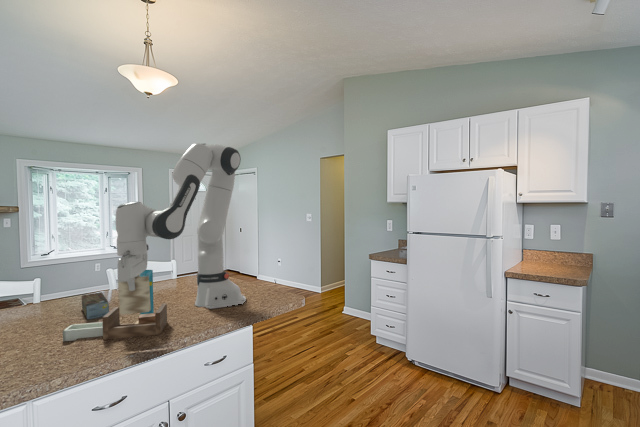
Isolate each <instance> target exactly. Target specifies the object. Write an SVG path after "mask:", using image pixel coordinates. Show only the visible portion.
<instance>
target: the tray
mask: <svg viewBox="0 0 640 427" xmlns="http://www.w3.org/2000/svg"><path fill="white" fill-rule="evenodd" d="M95 337H103V321H99V322H88V323H75V324H71V325H69V326H67V327H66V328H64V330H62V342H70V341H76V340H77V339H85V338H86V339H87V338H95Z"/></svg>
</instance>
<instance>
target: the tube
mask: <svg viewBox="0 0 640 427" xmlns="http://www.w3.org/2000/svg"><path fill="white" fill-rule="evenodd" d="M153 273H154V272H153V269H146V270H145V271H144V272H142V273H141V274H140V277H143V276H149V286H150V304H151V310H150V311H149V312H143V313H139V316H140V315H141V314H150V313H155V311H154V306H155V305H154V274H153Z"/></svg>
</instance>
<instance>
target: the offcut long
mask: <svg viewBox="0 0 640 427" xmlns="http://www.w3.org/2000/svg"><path fill="white" fill-rule="evenodd" d="M134 323H135V324H134V325H143V324H155V323H156V322H151V323H142V324H139V320H136V321H135V322H134Z"/></svg>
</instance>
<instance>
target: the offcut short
mask: <svg viewBox="0 0 640 427" xmlns="http://www.w3.org/2000/svg"><path fill="white" fill-rule="evenodd" d="M155 313H156V312H154V313H150V314H141V315H140V314H139V316H138V320H139V324H142V323H151V322H156V320H155Z"/></svg>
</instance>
